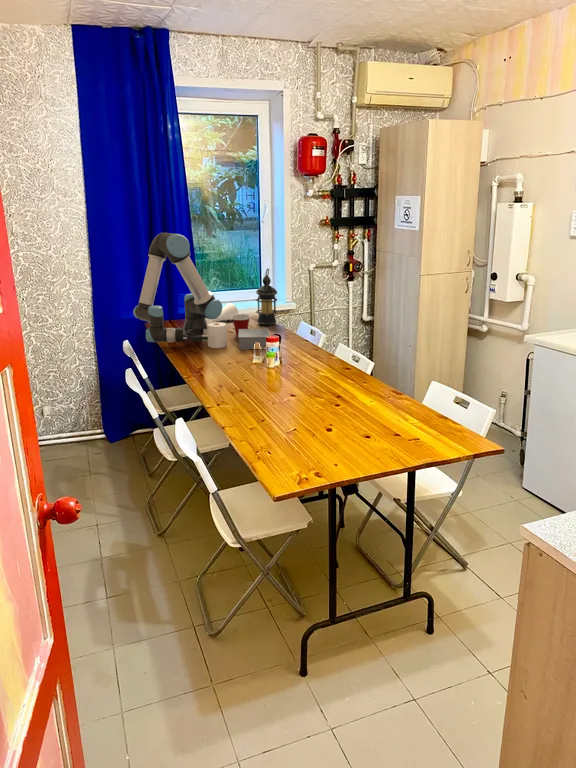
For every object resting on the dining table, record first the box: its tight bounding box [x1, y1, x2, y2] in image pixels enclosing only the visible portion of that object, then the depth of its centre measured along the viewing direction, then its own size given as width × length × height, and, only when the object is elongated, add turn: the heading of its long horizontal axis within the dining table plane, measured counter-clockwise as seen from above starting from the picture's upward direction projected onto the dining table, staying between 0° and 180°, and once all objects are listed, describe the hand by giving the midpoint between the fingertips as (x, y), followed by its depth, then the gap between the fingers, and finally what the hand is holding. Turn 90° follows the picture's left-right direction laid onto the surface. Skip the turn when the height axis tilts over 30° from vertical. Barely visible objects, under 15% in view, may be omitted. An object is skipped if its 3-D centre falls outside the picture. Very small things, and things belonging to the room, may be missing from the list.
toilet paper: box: [206, 321, 228, 349], centre depth 325 cm, size 10×10×12 cm
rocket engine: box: [209, 302, 239, 323], centre depth 382 cm, size 12×12×18 cm
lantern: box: [255, 268, 278, 326], centre depth 370 cm, size 14×13×35 cm
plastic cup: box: [232, 313, 251, 338], centre depth 345 cm, size 11×11×12 cm
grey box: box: [237, 328, 270, 351], centre depth 327 cm, size 19×17×7 cm
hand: (214, 334), depth 324 cm, fingers open, 13 cm apart
